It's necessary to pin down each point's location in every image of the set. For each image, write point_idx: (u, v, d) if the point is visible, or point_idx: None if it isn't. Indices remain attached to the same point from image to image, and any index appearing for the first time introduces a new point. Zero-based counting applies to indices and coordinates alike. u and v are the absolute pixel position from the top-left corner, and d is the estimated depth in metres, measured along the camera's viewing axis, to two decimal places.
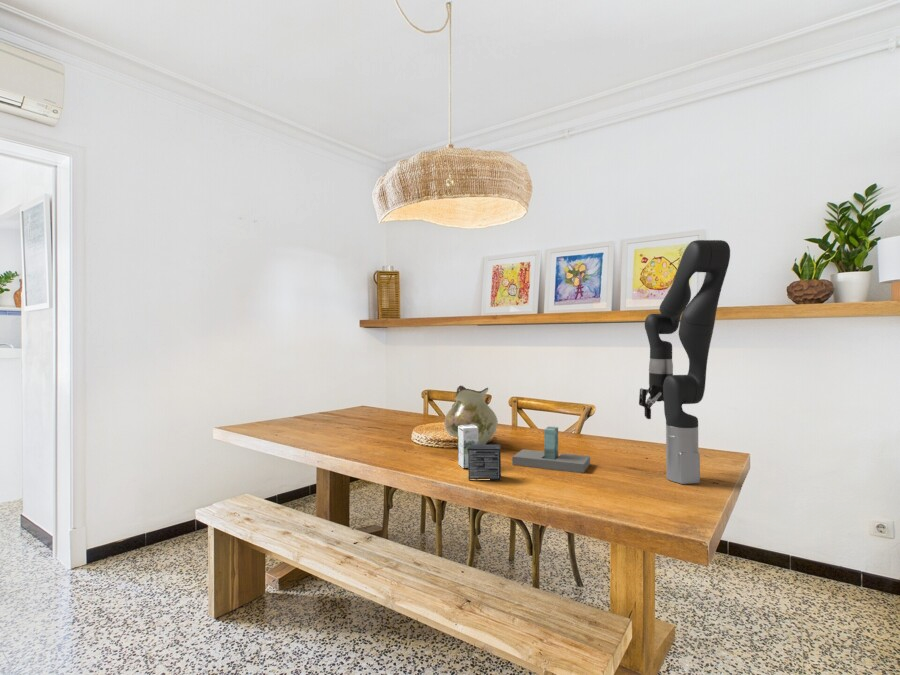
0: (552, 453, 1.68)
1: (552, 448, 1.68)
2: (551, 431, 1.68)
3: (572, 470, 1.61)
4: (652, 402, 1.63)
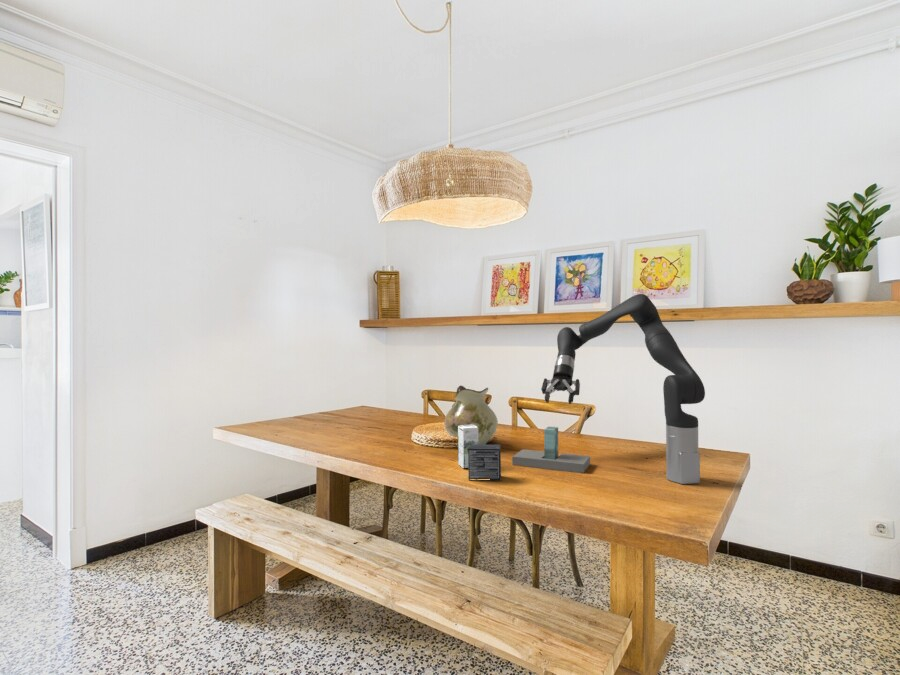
0: (552, 453, 1.68)
1: (552, 448, 1.68)
2: (551, 431, 1.68)
3: (572, 470, 1.61)
4: None
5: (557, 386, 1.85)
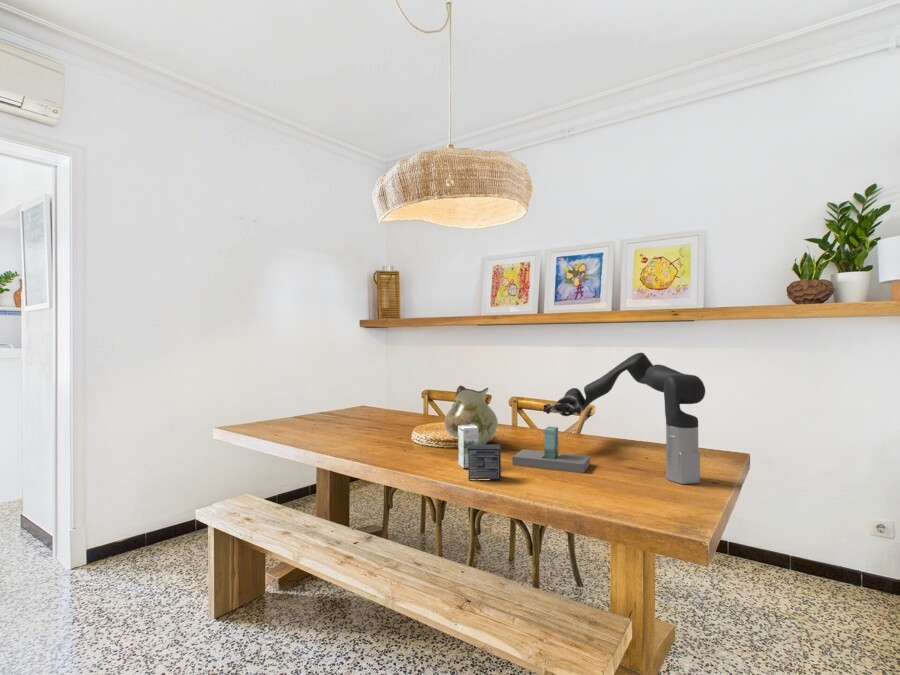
0: (552, 453, 1.68)
1: (552, 448, 1.68)
2: (551, 431, 1.68)
3: (572, 470, 1.61)
4: None
5: (559, 406, 1.87)
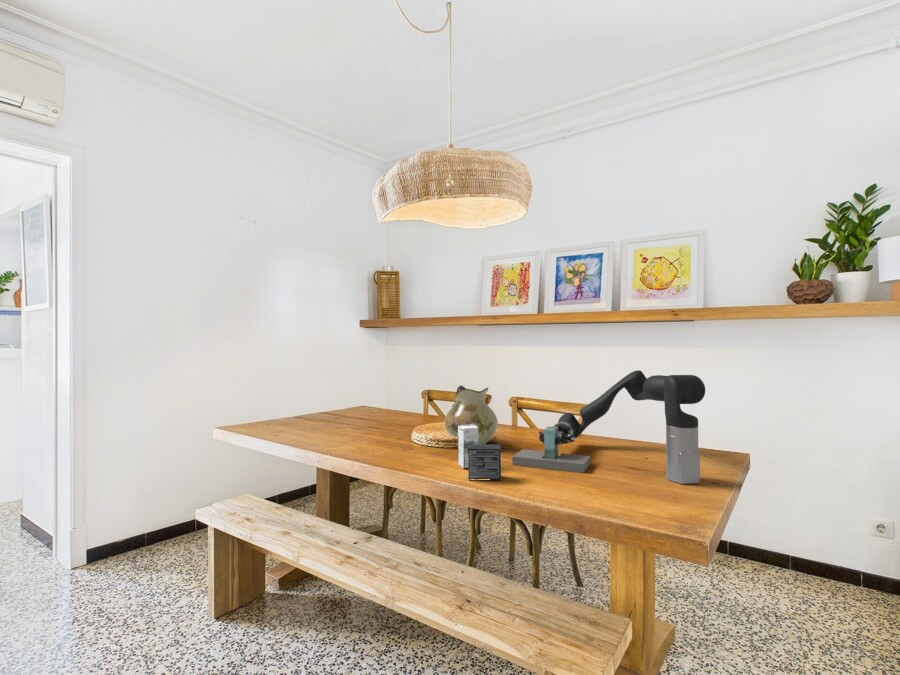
0: (552, 453, 1.68)
1: (552, 448, 1.68)
2: (551, 431, 1.68)
3: (572, 470, 1.61)
4: None
5: None
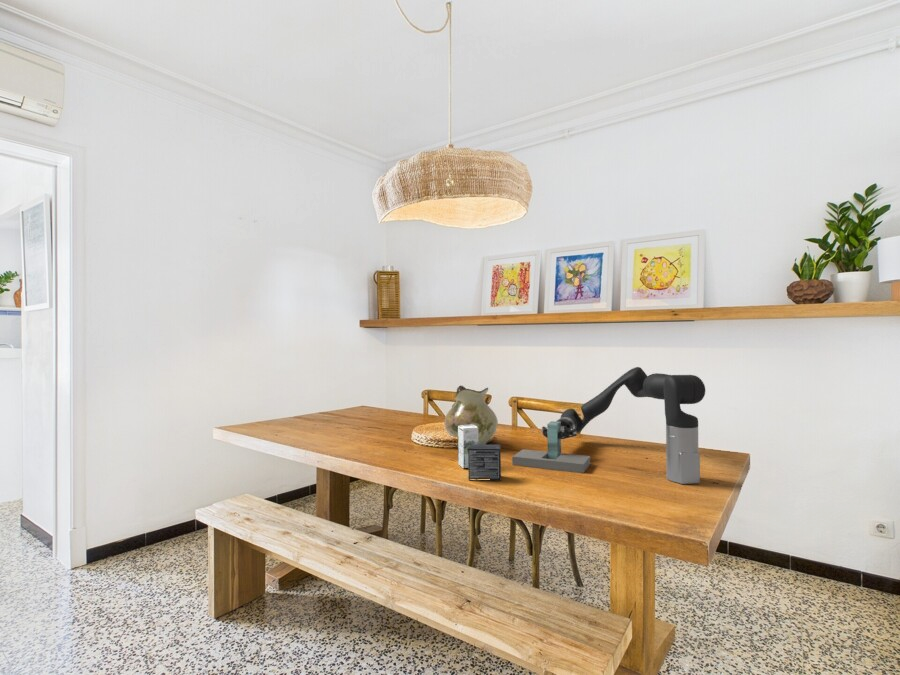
0: (555, 447, 1.73)
1: (555, 442, 1.73)
2: (554, 425, 1.73)
3: (572, 470, 1.61)
4: None
5: None
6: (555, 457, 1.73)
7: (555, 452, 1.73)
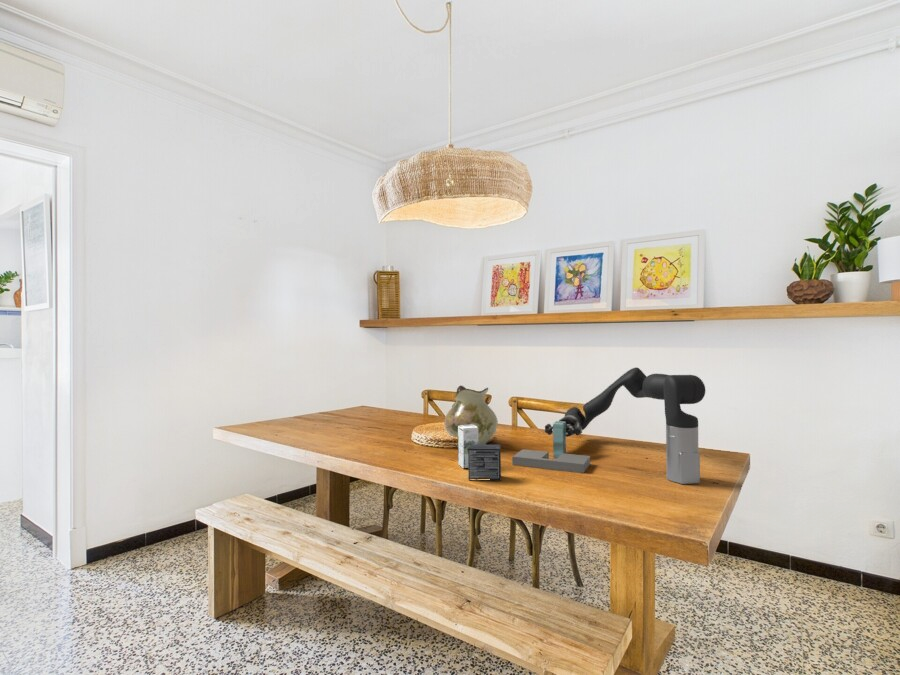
0: (560, 446, 1.79)
1: (560, 441, 1.79)
2: (560, 425, 1.79)
3: (572, 470, 1.61)
4: None
5: None
6: None
7: (561, 451, 1.79)
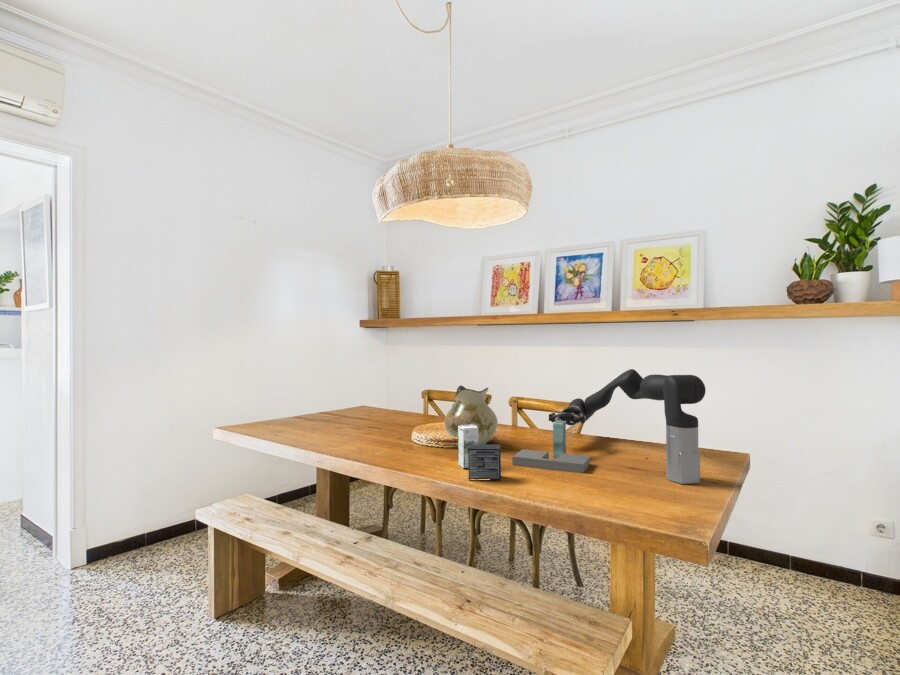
0: (560, 446, 1.79)
1: (560, 441, 1.79)
2: (560, 425, 1.79)
3: (572, 470, 1.61)
4: None
5: (564, 415, 1.94)
6: None
7: (561, 451, 1.79)
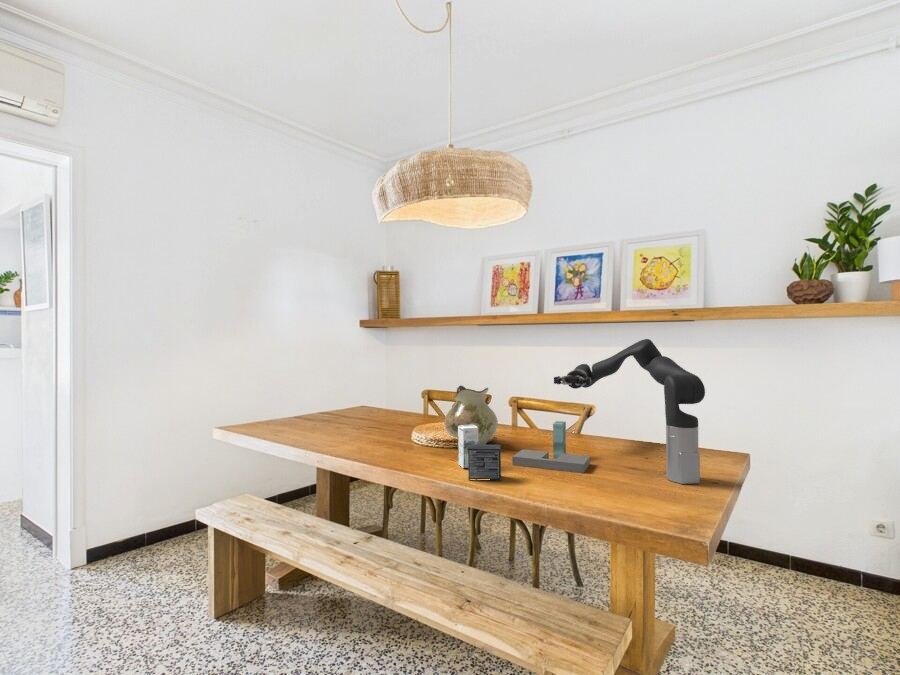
0: (560, 446, 1.79)
1: (560, 441, 1.79)
2: (560, 425, 1.79)
3: (572, 470, 1.61)
4: None
5: (569, 377, 1.92)
6: None
7: (561, 451, 1.79)
